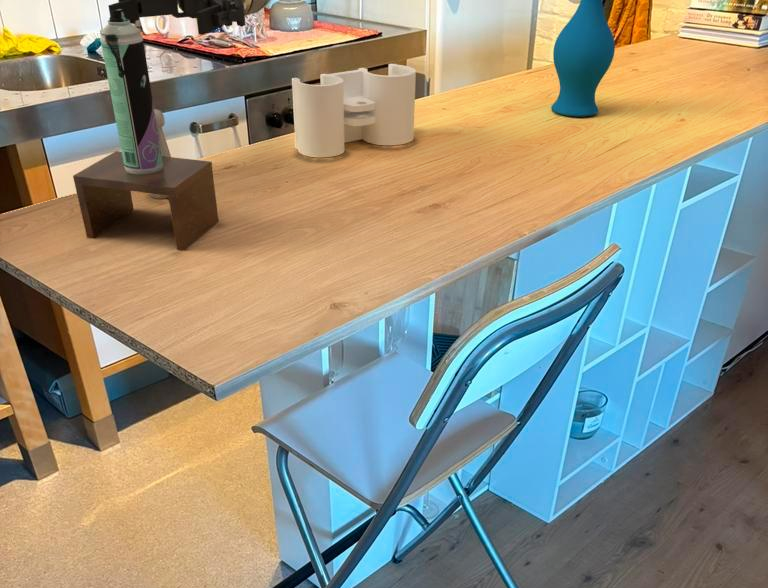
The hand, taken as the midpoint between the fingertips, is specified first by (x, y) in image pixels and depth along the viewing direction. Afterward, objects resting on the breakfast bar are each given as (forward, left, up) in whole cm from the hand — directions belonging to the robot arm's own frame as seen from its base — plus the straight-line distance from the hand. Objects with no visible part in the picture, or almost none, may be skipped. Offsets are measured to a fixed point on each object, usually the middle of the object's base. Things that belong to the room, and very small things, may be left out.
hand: (155, 20), depth 114 cm
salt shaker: (-6, +4, -27) cm, 28 cm away
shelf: (0, -10, -26) cm, 28 cm away
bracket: (+17, +41, -27) cm, 52 cm away
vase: (+55, +78, -27) cm, 99 cm away
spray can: (0, -10, -18) cm, 20 cm away
